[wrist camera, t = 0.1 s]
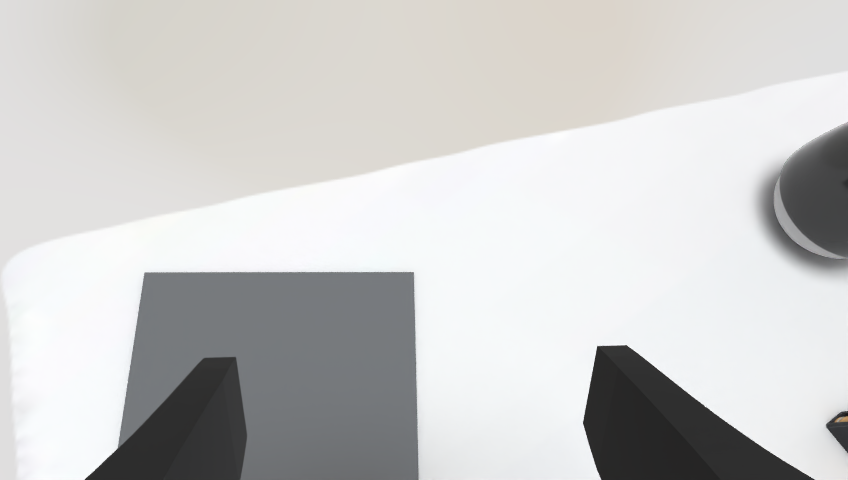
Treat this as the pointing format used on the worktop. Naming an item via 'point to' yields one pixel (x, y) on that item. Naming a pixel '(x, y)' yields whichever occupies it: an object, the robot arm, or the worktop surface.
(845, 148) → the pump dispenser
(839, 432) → the ammunition clip
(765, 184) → the worktop surface
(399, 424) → the mat
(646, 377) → the robot arm
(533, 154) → the worktop surface
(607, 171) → the worktop surface
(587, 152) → the worktop surface
